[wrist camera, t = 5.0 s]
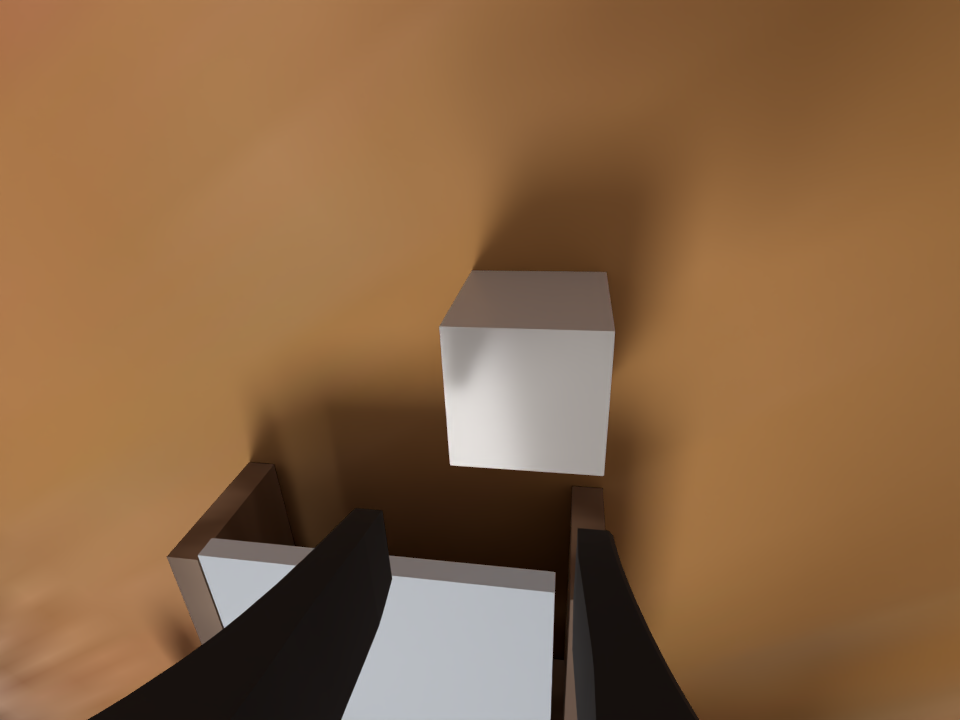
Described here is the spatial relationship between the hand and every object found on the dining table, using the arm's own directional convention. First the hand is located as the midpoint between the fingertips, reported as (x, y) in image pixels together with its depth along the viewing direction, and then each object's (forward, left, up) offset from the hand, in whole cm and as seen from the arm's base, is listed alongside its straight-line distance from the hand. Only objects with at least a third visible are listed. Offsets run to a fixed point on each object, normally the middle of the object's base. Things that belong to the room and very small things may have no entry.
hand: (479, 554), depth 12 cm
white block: (-1, -1, -9) cm, 9 cm away
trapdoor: (+4, +11, -4) cm, 12 cm away
